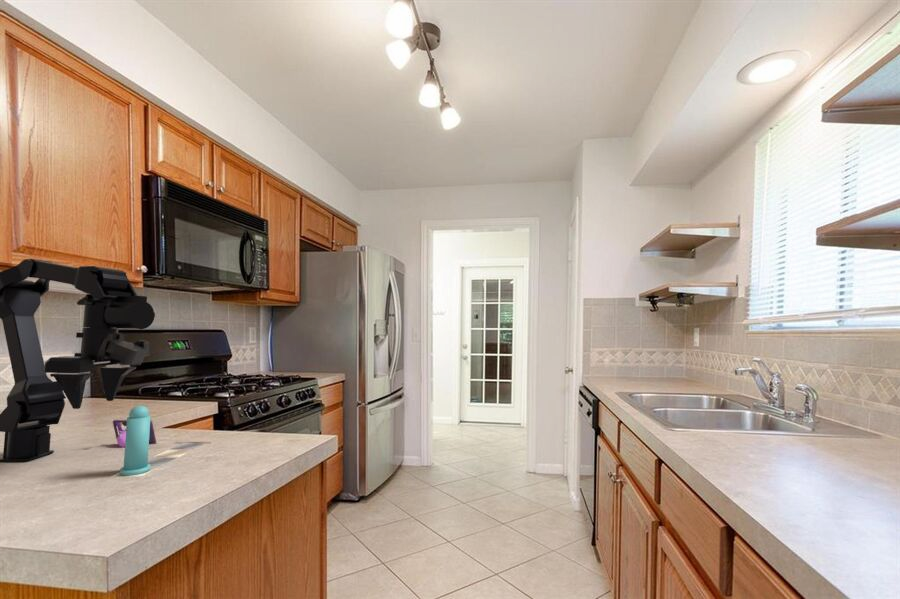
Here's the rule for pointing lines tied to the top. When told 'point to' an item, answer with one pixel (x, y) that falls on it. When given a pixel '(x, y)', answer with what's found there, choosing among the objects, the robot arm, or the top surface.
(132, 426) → the pawn
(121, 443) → the purple piece
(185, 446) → the board
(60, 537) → the top surface
